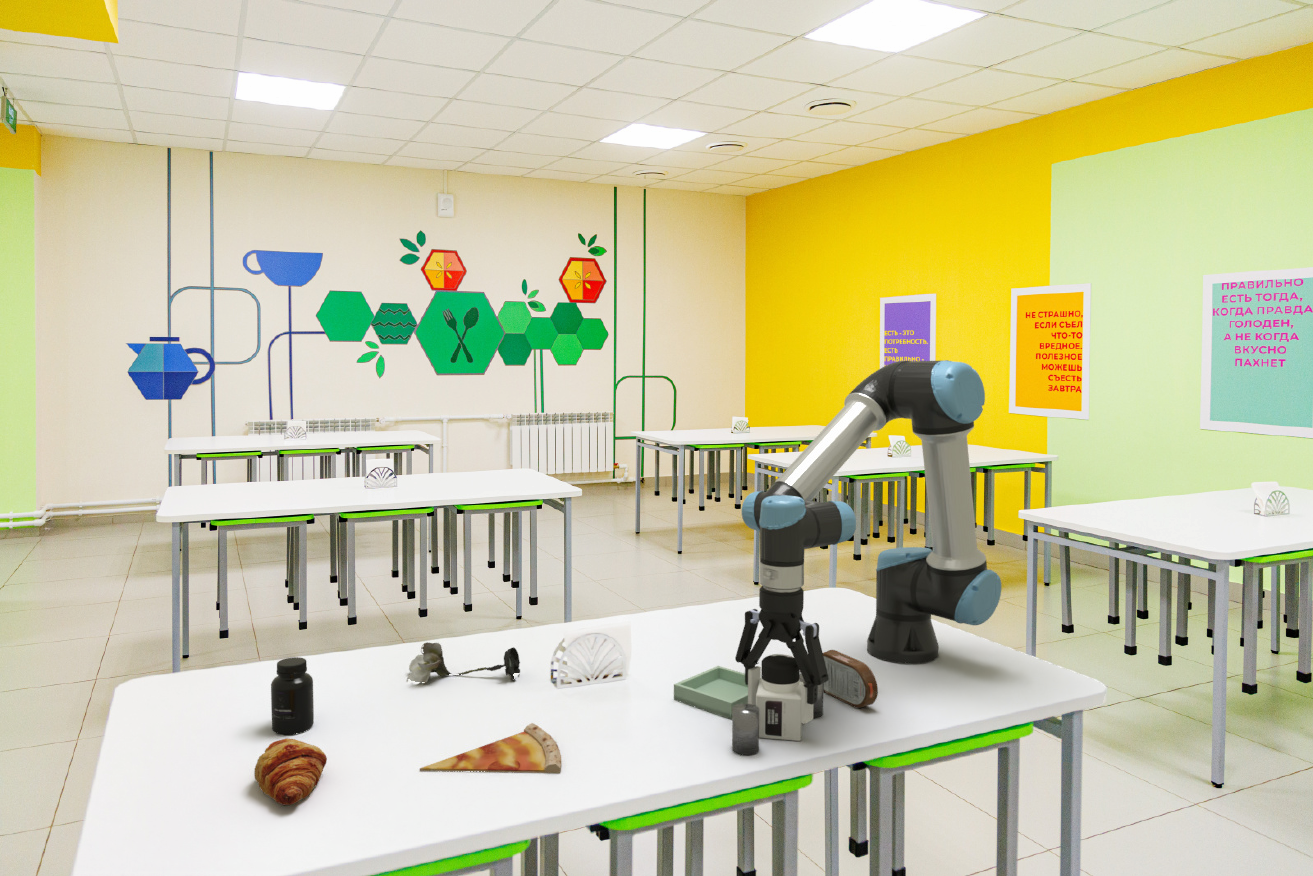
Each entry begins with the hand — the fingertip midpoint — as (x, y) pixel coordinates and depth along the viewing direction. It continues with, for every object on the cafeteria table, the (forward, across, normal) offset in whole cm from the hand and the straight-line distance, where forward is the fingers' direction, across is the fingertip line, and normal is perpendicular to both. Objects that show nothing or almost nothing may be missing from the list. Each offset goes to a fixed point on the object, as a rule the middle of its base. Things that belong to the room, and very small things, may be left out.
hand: (779, 712), depth 153 cm
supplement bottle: (+4, -64, -56) cm, 85 cm away
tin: (+4, +1, +20) cm, 20 cm away
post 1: (+3, 0, -10) cm, 11 cm away
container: (+3, 0, 0) cm, 3 cm away
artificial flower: (+4, -62, -22) cm, 66 cm away
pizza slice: (+4, -30, -37) cm, 48 cm away
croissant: (+4, -45, -65) cm, 80 cm away
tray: (+3, -16, +5) cm, 17 cm away
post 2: (+3, 0, +10) cm, 11 cm away
